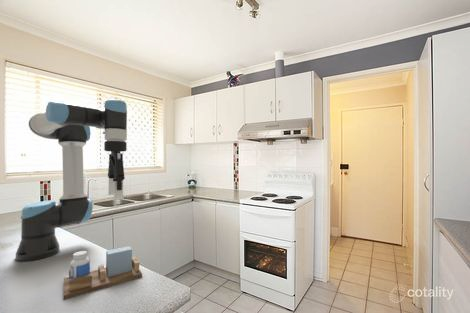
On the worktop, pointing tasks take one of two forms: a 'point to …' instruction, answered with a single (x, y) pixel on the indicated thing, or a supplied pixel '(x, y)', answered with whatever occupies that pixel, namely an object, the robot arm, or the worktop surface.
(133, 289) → the worktop surface
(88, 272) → the pill bottle
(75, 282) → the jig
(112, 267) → the block
